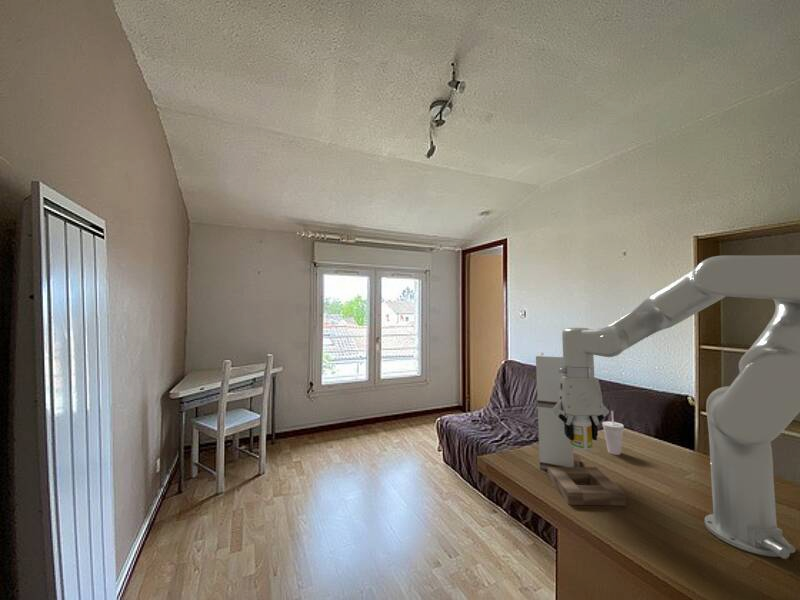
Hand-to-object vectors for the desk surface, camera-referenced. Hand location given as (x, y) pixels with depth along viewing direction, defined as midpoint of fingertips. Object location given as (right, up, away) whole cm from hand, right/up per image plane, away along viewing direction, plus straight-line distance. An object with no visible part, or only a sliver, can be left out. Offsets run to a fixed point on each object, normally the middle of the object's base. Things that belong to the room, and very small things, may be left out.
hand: (581, 437), depth 91 cm
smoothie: (+24, -15, +23) cm, 36 cm away
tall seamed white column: (+1, -15, +15) cm, 21 cm away
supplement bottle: (0, -3, 0) cm, 3 cm away
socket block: (0, -14, -1) cm, 14 cm away
